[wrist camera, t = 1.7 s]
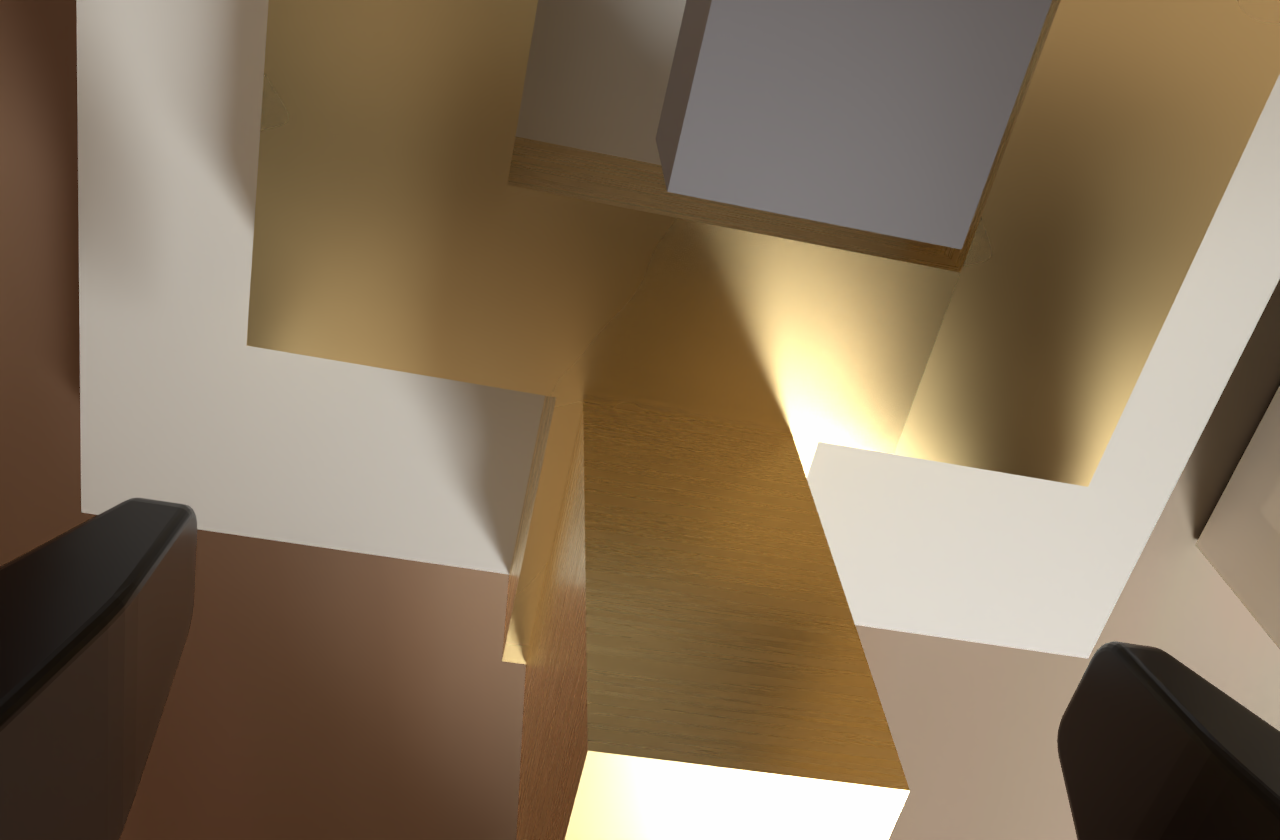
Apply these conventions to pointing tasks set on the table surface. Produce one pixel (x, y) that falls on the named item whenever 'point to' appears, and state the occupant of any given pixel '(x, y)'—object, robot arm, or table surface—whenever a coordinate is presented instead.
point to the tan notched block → (728, 367)
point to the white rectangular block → (692, 165)
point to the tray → (1251, 526)
